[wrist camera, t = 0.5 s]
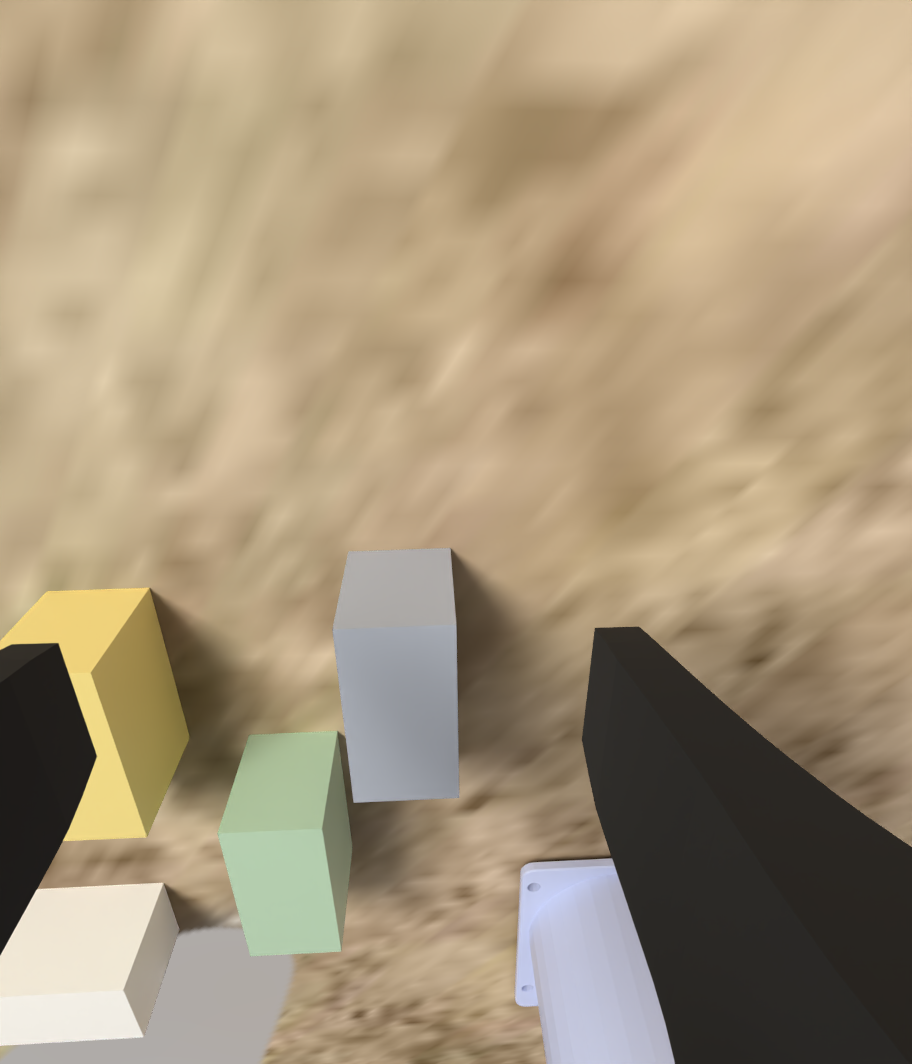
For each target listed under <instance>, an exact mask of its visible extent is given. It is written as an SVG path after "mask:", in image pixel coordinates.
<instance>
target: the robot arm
mask: <svg viewBox="0 0 912 1064" xmlns="http://www.w3.org/2000/svg"><path fill="white" fill-rule="evenodd" d="M582 742H583V747H584V752H585V757H586V763H587V768H588V773H589V778H590V782H591V787H592V792H593V796H594V801H595V806H596V810H597V813H598V816H599V819H600V823H601V826H602V829H603V832H604V835H605V838H606V841H607V844H608V847H609V850H610V853H611V856H612V858H607V859H587V860H567V861H548V862H532V863H528V864H526V865H524V866H523V867H522V869H521V871H520V892H519V913H518V933H517V954H516V975H515V1000H516V1003H517V1004H518V1005H520V1006H538V1007H539V1014H540V1021H541V1028H542V1035H543V1042H544V1049H545V1056H546V1063H547V1064H912V847H911V846H909V845H908V844H906V843H905V842H903V841H902V840H900V839H899V838H897V837H896V836H894V835H893V834H892V833H890V832H889V831H887V830H886V829H884V828H883V827H881V826H880V825H878V824H877V823H875V822H874V821H873V820H871V819H870V818H868V817H867V816H865V815H864V814H863V813H861V812H860V811H859V810H857V809H856V808H854V807H853V806H852V805H850V804H849V803H847V802H846V801H845V800H843V799H842V798H841V797H839V796H838V795H837V794H835V793H834V792H833V791H831V790H830V789H829V788H827V787H826V786H825V785H824V784H822V783H821V782H820V781H818V780H817V779H816V778H815V777H813V776H812V775H811V774H809V773H808V772H807V771H806V770H804V769H803V768H802V767H800V766H799V765H798V764H797V763H795V762H794V761H793V760H791V759H790V758H789V757H788V756H786V755H785V754H784V753H783V752H781V751H780V750H779V749H778V748H776V747H775V746H774V745H773V744H772V743H770V742H769V741H768V740H767V739H765V738H764V737H763V736H762V735H761V734H759V733H758V732H757V731H756V730H755V729H753V728H752V727H751V726H750V725H749V724H747V723H746V722H745V721H744V720H743V719H742V718H740V717H739V716H738V715H737V714H736V713H735V712H734V711H732V710H731V709H730V708H729V707H728V706H727V705H725V704H724V703H723V702H722V701H721V700H720V699H719V698H717V697H716V696H715V695H714V694H713V693H712V692H711V691H710V690H708V689H707V688H706V687H705V686H704V685H703V684H702V683H701V682H700V681H698V680H697V679H696V678H695V677H694V676H693V675H692V674H691V673H690V672H689V671H687V670H686V669H685V668H684V667H683V666H682V665H681V664H680V663H679V662H678V661H676V660H675V659H674V658H673V657H672V656H671V655H670V654H669V653H668V652H667V651H666V650H664V649H663V648H662V647H661V646H660V645H659V644H658V643H657V642H656V641H655V640H654V639H652V638H651V637H650V636H649V635H648V634H647V633H646V632H644V631H643V630H642V629H641V628H640V627H613V628H595V632H594V641H593V649H592V658H591V666H590V675H589V684H588V692H587V701H586V710H585V718H584V727H583V735H582ZM96 758H97V754H96V751H95V749H94V746H93V743H92V740H91V737H90V734H89V731H88V728H87V725H86V722H85V719H84V716H83V714H82V711H81V708H80V705H79V702H78V699H77V696H76V693H75V690H74V687H73V684H72V681H71V678H70V676H69V673H68V670H67V667H66V664H65V661H64V658H63V655H62V652H61V649H60V646H59V643H38V644H11V645H9V646H7V647H5V648H3V649H1V650H0V955H1V953H2V952H3V950H4V948H5V946H6V944H7V943H8V941H9V939H10V937H11V935H12V933H13V932H14V930H15V928H16V926H17V924H18V923H19V921H20V919H21V917H22V915H23V914H24V912H25V910H26V908H27V906H28V904H29V903H30V901H31V899H32V897H33V895H34V894H35V892H36V890H37V888H38V886H39V884H40V883H41V881H42V879H43V877H44V875H45V873H46V871H47V870H48V868H49V866H50V864H51V862H52V860H53V858H54V857H55V855H56V853H57V851H58V849H59V847H60V845H61V843H62V842H63V840H64V838H65V836H66V834H67V832H68V830H69V828H70V825H71V823H72V821H73V818H74V816H75V813H76V811H77V808H78V806H79V803H80V801H81V799H82V796H83V794H84V791H85V788H86V785H87V783H88V780H89V777H90V775H91V772H92V769H93V766H94V764H95V761H96Z"/></svg>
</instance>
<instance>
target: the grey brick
mask: <svg viewBox="0 0 912 1064" xmlns="http://www.w3.org/2000/svg"><path fill="white" fill-rule="evenodd" d="M333 638H334V646H335V654H336V662H337V670H338V679H339V687H340V695H341V703H342V711H343V719H344V728H345V736H346V744H347V752H348V760H349V769H350V777H351V785H352V793H353V801H354V803H359V802H381V801H402V800H423V799H444V798H459V754H458V693H457V633H456V614H455V601H454V588H453V576H452V563H451V550H450V548H437V549H408V550H379V551H350V552H348V557H347V561H346V566H345V571H344V576H343V581H342V586H341V591H340V595H339V600H338V605H337V610H336V615H335V620H334V625H333Z"/></svg>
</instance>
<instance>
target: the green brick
mask: <svg viewBox="0 0 912 1064" xmlns="http://www.w3.org/2000/svg"><path fill="white" fill-rule="evenodd" d="M218 837H219V841H220V845H221V848H222V852H223V856H224V860H225V863H226V867H227V871H228V875H229V878H230V882H231V886H232V890H233V893H234V897H235V901H236V905H237V908H238V912H239V916H240V920H241V923H242V927H243V931H244V934H245V938H246V942H247V945H248V950H249V953H250V956H265V955H284V954H303V953H321V952H340V951H342V942H343V932H344V923H345V914H346V904H347V895H348V886H349V876H350V867H351V857H352V848H353V847H352V840H351V832H350V824H349V816H348V809H347V801H346V793H345V785H344V778H343V770H342V762H341V755H340V747H339V739H338V731H326V732H303V733H280V734H257V735H249V737H248V740H247V743H246V746H245V749H244V752H243V756H242V759H241V762H240V765H239V768H238V771H237V774H236V777H235V781H234V784H233V787H232V790H231V793H230V796H229V799H228V802H227V806H226V809H225V812H224V815H223V818H222V821H221V824H220V827H219V831H218Z"/></svg>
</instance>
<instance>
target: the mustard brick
mask: <svg viewBox="0 0 912 1064" xmlns="http://www.w3.org/2000/svg"><path fill="white" fill-rule="evenodd" d="M38 643H59V646H60V649H61V652H62V655H63V658H64V661H65V664H66V667H67V670H68V673H69V676H70V678H71V681H72V684H73V687H74V690H75V693H76V696H77V699H78V702H79V705H80V708H81V711H82V714H83V716H84V719H85V722H86V725H87V728H88V731H89V734H90V737H91V740H92V743H93V746H94V749H95V751H96V754H97V758H96V761H95V764H94V766H93V769H92V772H91V775H90V777H89V780H88V783H87V785H86V788H85V791H84V794H83V796H82V799H81V801H80V803H79V806H78V808H77V811H76V813H75V816H74V818H73V821H72V823H71V825H70V828H69V830H68V832H67V834H66V836H65V838H64V840H63V841H74V840H96V839H118V838H140V837H147V836H148V833H149V831H150V829H151V826H152V824H153V822H154V820H155V817H156V815H157V813H158V810H159V808H160V806H161V803H162V801H163V799H164V796H165V794H166V792H167V789H168V787H169V785H170V782H171V780H172V778H173V775H174V773H175V771H176V768H177V766H178V764H179V761H180V759H181V757H182V754H183V752H184V750H185V747H186V745H187V743H188V740H189V738H190V736H189V733H188V729H187V725H186V722H185V718H184V714H183V710H182V707H181V703H180V699H179V696H178V692H177V688H176V684H175V681H174V677H173V673H172V670H171V666H170V662H169V658H168V655H167V651H166V647H165V644H164V640H163V636H162V632H161V629H160V625H159V621H158V618H157V614H156V610H155V606H154V603H153V599H152V595H151V592H150V588H130V589H102V590H74V591H47V592H46V593H45V594H44V595H43V596H42V597H41V598H40V599H39V600H38V601H37V602H36V604H35V605H34V606H33V607H32V608H31V609H30V610H29V611H28V612H27V613H26V614H25V615H24V616H23V617H22V618H21V619H20V621H19V622H18V623H17V624H16V625H15V626H14V627H13V628H12V629H11V630H10V631H9V632H8V633H7V634H6V635H5V636H4V637H3V639H2V640H1V641H0V650H1V649H3V648H5V647H7V646H9V645H11V644H38Z"/></svg>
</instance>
